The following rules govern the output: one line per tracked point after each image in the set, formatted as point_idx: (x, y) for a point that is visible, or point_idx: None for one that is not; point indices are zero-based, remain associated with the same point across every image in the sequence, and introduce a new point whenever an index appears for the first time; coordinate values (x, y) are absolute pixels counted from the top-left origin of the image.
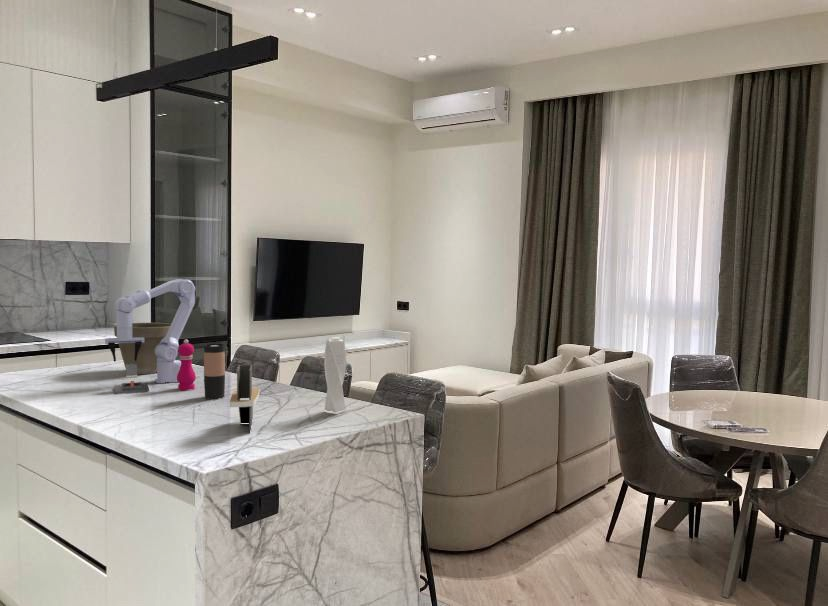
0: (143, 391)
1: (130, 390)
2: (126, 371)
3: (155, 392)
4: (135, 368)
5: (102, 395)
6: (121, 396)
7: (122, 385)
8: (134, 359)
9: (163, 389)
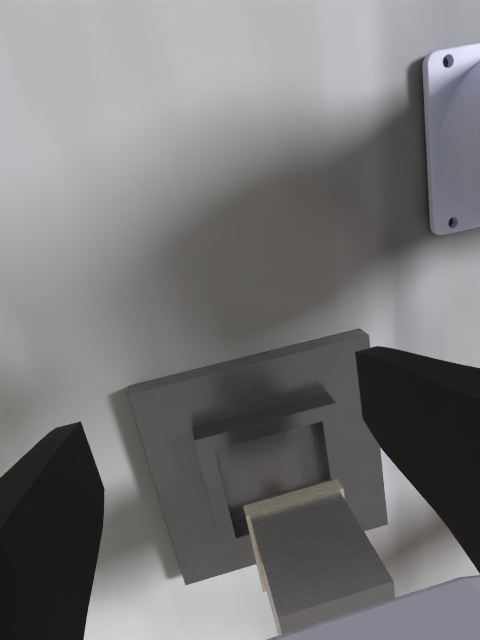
0: None
1: None
2: (274, 617)
3: (414, 525)
4: None
5: (108, 601)
6: (233, 621)
7: (214, 513)
8: (360, 367)
9: None
